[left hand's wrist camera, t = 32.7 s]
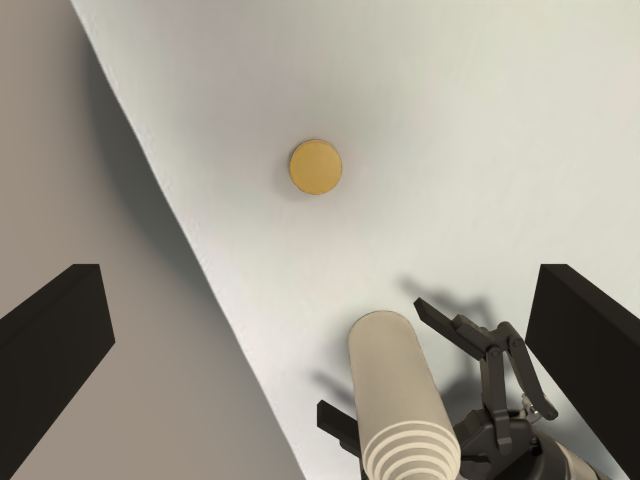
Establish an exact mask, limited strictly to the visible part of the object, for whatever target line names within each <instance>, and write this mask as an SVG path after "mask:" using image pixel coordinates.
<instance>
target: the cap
mask: <svg viewBox="0 0 640 480" xmlns="http://www.w3.org/2000/svg"><path fill="white" fill-rule="evenodd" d="M289 168H290V175H291V178H292V180H293V182H294V184H295V185H296V186H297V187H298V188H299V189H300V190H302V191H304V192H306V193H309V194H323V193H326V192H328V191H330V190H331V189H332V188H333V187H334V186H335V185H336V184H337V183H338V181H339V179H340V177H341V173H342V164H341V160H340V157H339V154H338V152H337V151H336V149H335V148H334V147H333V146H332V145H331V144H329V143H328V142H325V141H323V140H309V141H306V142H304V143H302V144H301V145H299V146H298V147H297V148H296V150H295V151H294V153H293V155H292V158H291V161H290V167H289Z"/></svg>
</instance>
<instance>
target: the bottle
mask: <svg viewBox="0 0 640 480" xmlns="http://www.w3.org/2000/svg"><path fill="white" fill-rule="evenodd" d="M348 346H349V354H350V362H351V371H352V379H353V387H354V396H355V404H356V412H357V420H358V429H359V437H360V445H361V454H362V462H363V467H364V470H365V473H366V474H367V476H368V477H369V480H455V479H456V476H457V474H458V472H459V469H460V457H461V451H460V446H459V443H458V441H457V438H456V435H455V433H454V430H453V428H452V425H451V423H450V420H449V418H448V415H447V413H446V410H445V408H444V405H443V402H442V400H441V397H440V395H439V392H438V390H437V387H436V385H435V382H434V380H433V377H432V375H431V372H430V369H429V367H428V364H427V362H426V359H425V357H424V354H423V352H422V349H421V347H420V344H419V342H418V339H417V336H416V334H415V331H414V329H413V327H412V325H411V324H410V322H409V321H408V320H407V319H406V318H404V317H403V316H401V315H399V314H397V313H394V312H389V311H378V312H373V313H370V314H368V315H365V316H364V317H362V318H361V319H359V320H358V321H357V322H356V323H355V324H354V326H353V327H352V329H351V331H350V333H349V338H348Z"/></svg>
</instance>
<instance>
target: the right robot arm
mask: <svg viewBox="0 0 640 480" xmlns="http://www.w3.org/2000/svg"><path fill="white" fill-rule="evenodd" d="M413 304H414V306H415V308H416V311H417V313H418V315H419V317H420V320H421V321H423V322H424V323H426V324H427V325H428V326H430V327H431V328H433V329H434V330H435V331H437V332H438V333H440V334H441V335H442V336H444V337H445V338H447V339H448V340H450V341H451V342H452V343H454V344H455V345H457V346H458V347H459V348H461V349H462V350H464V351H465V352H466V353H468V354H469V355H471V356H472V357H473V358H475V359H476V360H478V361H479V360H480V370H481V380H482V390H483V393H481V396H482V406H483V409H480V410H477V411H475V410H473V411H471V412H470V413H469V414H468V415H467V417H466V418H465V420H464V421H463V422H461V423H459V424H457V425H456V426H455V427H454V428H453V430H454V433H455V435H456V438H457V441H458V443H459V446H460V451H461V457H460V469H459V472H458V474H457V476H456V479H455V480H466V479H467V480H612V479H610V478H609V477H607V476H606V475H604V474H603V473H601V472H600V471H598V470H597V469H595V468H594V467H592V466H591V465H589V464H588V463H586V462H585V461H584V460H582V459H581V458H579V457H578V456H577V455H575V454H574V453H572V452H571V451H569V450H568V449H566V448H565V447H564V446H562V445H561V444H559V443H558V442H556V441H554V440H553V439H552V438H551V437H550V436H548V435H547V434H545V433H544V432H542V431H541V430H539V429H538V428H536V427H535V426H534V425H532V424H533V423H534V422H536V421H537V420H539V419H540V418H542V417H544V418H545V419H547V420H554V419H556V418H557V416H558V412H557V411H556V409H555V408H554V406H553V405H552V404H551V402H550V401H549V400H548V398H547V397H546V396H545V394H544V393H543V392H542V389H541V386H540V383H539V381H538V378H537V375H536V373H535V370H534V367H533V365H532V362H531V359H530V356H529V354H528V351H527V348H526V346H525V343H524V340H523V339H522V338H521V336H520V335H519V334H518V333H517V331H516V330H515V329H514V328H513V326H512V325H511V324H510V323H509V322H506V321H504V322H501V323H500V324H499V325H498V327H497V329H496V330H494V331H490V332H489V331H488V330H487V329H486V328H485V327H479V326H477V325H476V324H474V323H473V322H472V321H470V320H469V319H468V318H466V317H465V316H463V315H459V314H458V315H457V316H456V317H455V318H454V319H453V320H452V321H451V320H450V319H449V318H447V317H446V316H444V315H443V314H442V313H440V312H439V311H438V310H436V309H435V308H433V307H432V306H431V305H429V304H428V303H427V302H425V301H424V300H422V299H421V298H420V297H419V298H418V299H417V300H416V301H415V302H414V303H413ZM505 350H506V353H507V355H508V358H509V360H510V363H511V365H512V368H513V370H514V373H515V376H516V378H517V381H518V383H519V385H520V387H521V389H522V390H523V392H524V393H523V394H522V398H523V399H522V404H523V409H522V411H520V410H516V409H507V407H506V394H505V381H504V368H503V355H502V352H503V351H505ZM317 427H319V428H320V429H322V430H324V431H326V432H327V433H329V434H331V435H332V436H334V437H336V438H337V439H339V440H340V446H341V447H342V448H343V449H345V450H346V451H348V452H350V453H351V454H353V455H355V456H356V457H358V458H359V463H360V472H361V480H369V477H368V476H367V474H366V473H365V470H364V467H363V462H362V454H361V445H360V437H359V429H358V421H356V420H355V419H353V418H351V417H350V416H348V415H346V414H345V413H343V412H341V411H340V410H338V409H337V408H335V407H333V406H332V405H330V404H328V403H327V402H325V401H324V400H321V401H320V402H319V403H318V404H317Z"/></svg>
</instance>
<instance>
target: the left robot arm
mask: <svg viewBox="0 0 640 480" xmlns="http://www.w3.org/2000/svg"><path fill="white" fill-rule="evenodd" d="M114 344H115V338H114V333H113V328H112V323H111V319H110V314H109V309H108V305H107V299H106V295H105V290H104V285H103V280H102V276H101V271H100V266H99V264H73V265H71V266H70V267H69V268H67V269H66V270H65V271H63V272H62V273H61V274H59V275H58V276H57V277H56V278H54V279H53V280H52V281H50V282H49V283H48V284H46V285H45V286H44V287H42V288H41V289H40V290H38V291H37V292H36V293H34V294H33V295H32V296H31V297H29V298H28V299H26V300H25V301H24V302H23V303H21V304H20V305H19V306H17V307H16V308H15V309H13V310H12V311H11V312H9V313H8V314H7V315H5V316H4V317H3V318H1V319H0V480H10V478H11V477H12V476H13V475H14V473H15V472H16V471H17V469H18V468H19V467H20V465H21V464H22V463H23V462H24V460H25V459H26V458H27V456H28V455H29V454H30V453H31V451H32V450H33V449H34V447H35V446H36V445H37V443H38V442H39V441H40V439H41V438H42V437H43V436H44V434H45V433H46V432H47V431H48V429H49V428H50V427H51V425H52V424H53V423H54V421H55V420H56V419H57V418H58V416H59V415H60V414H61V412H62V411H63V410H64V408H65V407H66V406H67V405H68V403H69V402H70V401H71V399H72V398H73V397H74V395H75V394H76V393H77V392H78V390H79V389H80V388H81V386H82V385H83V384H84V382H85V381H86V380H87V379H88V377H89V376H90V375H91V373H92V372H93V371H94V370H95V368H96V367H97V366H98V364H99V363H100V362H101V360H102V359H103V358H104V357H105V355H106V354H107V353H108V351H109V350H110V349H111V347H112V346H113V345H114ZM525 344H526V345H527V346H528V347H529V349H530V350H531V351H532V353H533V354H534V355H535V357H536V358H537V359H538V360H539V362H540V363H541V364H542V366H543V367H544V368H545V370H546V371H547V372H548V373H549V375H550V376H551V377H552V379H553V380H554V381H555V383H556V384H557V385H558V386H559V388H560V389H561V390H562V392H563V393H564V394H565V395H566V397H567V398H568V399H569V401H570V402H571V403H572V405H573V406H574V407H575V408H576V410H577V411H578V412H579V414H580V415H581V416H582V418H583V419H584V420H585V421H586V423H587V424H588V425H589V427H590V428H591V429H592V431H593V432H594V433H595V434H596V436H597V437H598V438H599V440H600V441H601V442H602V443H603V445H604V446H605V447H606V449H607V450H608V451H609V453H610V454H611V455H612V456H613V458H614V459H615V460H616V462H617V463H618V464H619V466H620V467H621V468H622V469H623V471H624V472H625V473H626V475H627V476H628V477H629V479H630V480H640V319H639V318H637V317H636V316H635V315H633V314H632V313H631V312H629V311H628V310H627V309H625V308H624V307H623V306H621V305H620V304H619V303H617V302H616V301H615V300H614V299H612V298H611V297H610V296H608V295H607V294H606V293H604V292H603V291H602V290H600V289H599V288H598V287H596V286H595V285H594V284H592V283H591V282H590V281H588V280H587V279H586V278H584V277H583V276H582V275H581V274H579V273H578V272H577V271H575V270H574V269H573V268H571V267H570V266H569V265H567V264H541V266H540V271H539V276H538V280H537V285H536V290H535V295H534V299H533V304H532V309H531V314H530V319H529V323H528V328H527V333H526V338H525Z"/></svg>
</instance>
